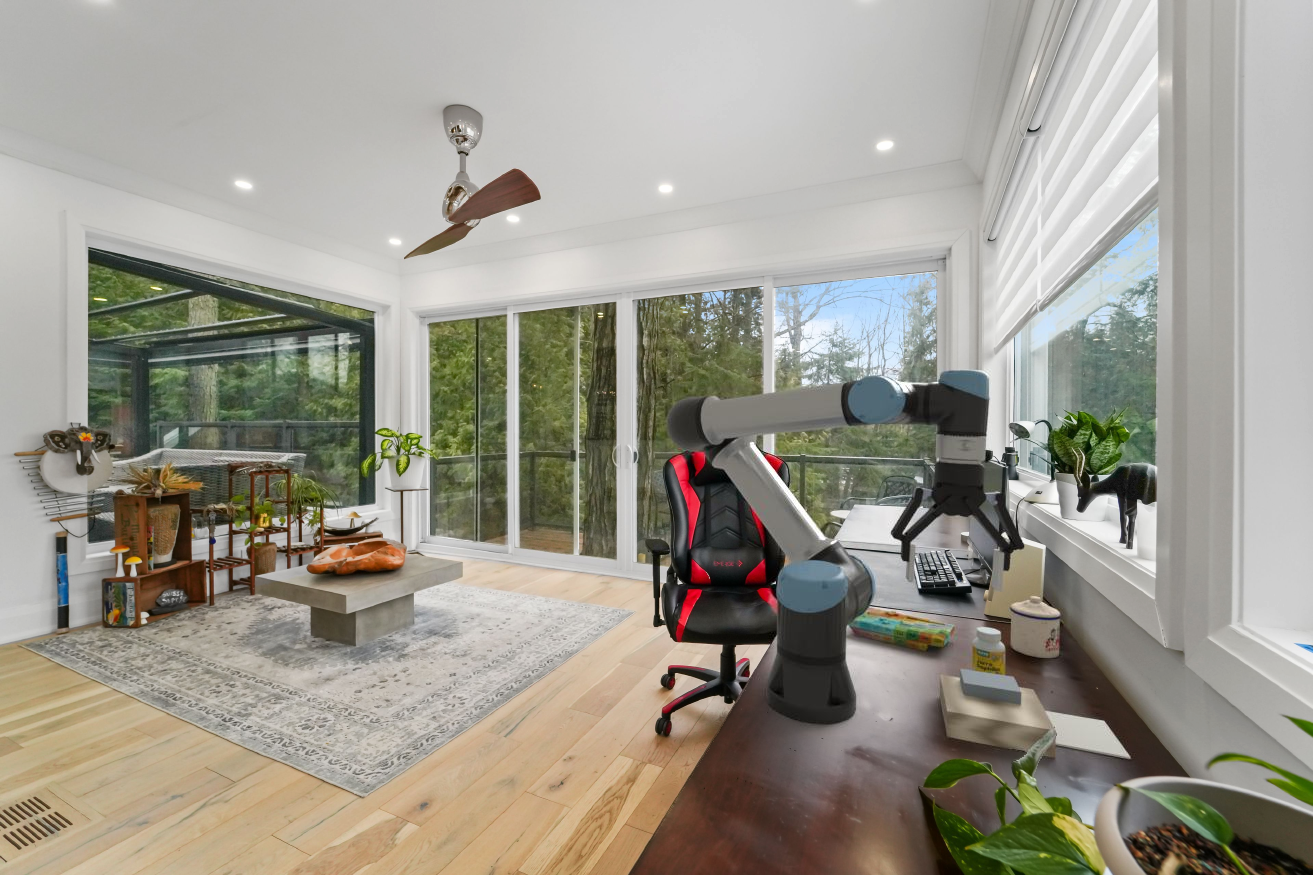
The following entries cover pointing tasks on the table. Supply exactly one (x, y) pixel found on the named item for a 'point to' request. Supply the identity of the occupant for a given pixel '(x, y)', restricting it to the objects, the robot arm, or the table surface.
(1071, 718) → the white mat
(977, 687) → the slate tile
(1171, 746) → the table surface
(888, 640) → the puzzle game
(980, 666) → the supplement bottle
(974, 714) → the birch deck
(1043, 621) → the teacup with lid
